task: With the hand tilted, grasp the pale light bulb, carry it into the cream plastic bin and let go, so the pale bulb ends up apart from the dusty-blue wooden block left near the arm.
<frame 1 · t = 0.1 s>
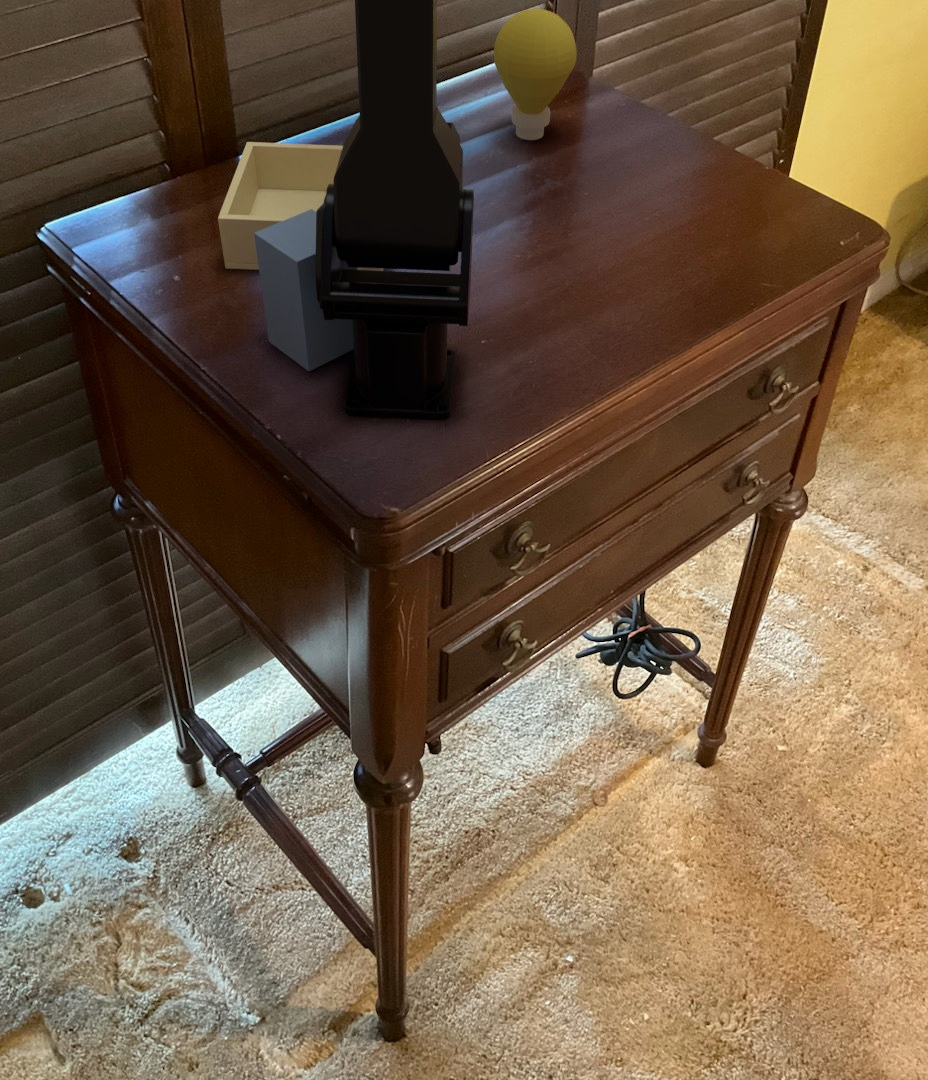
blue block: (315, 343, 73), on the table, touching arm
cream bin: (314, 230, 83), on the table
light bulb: (529, 135, 95), on the table
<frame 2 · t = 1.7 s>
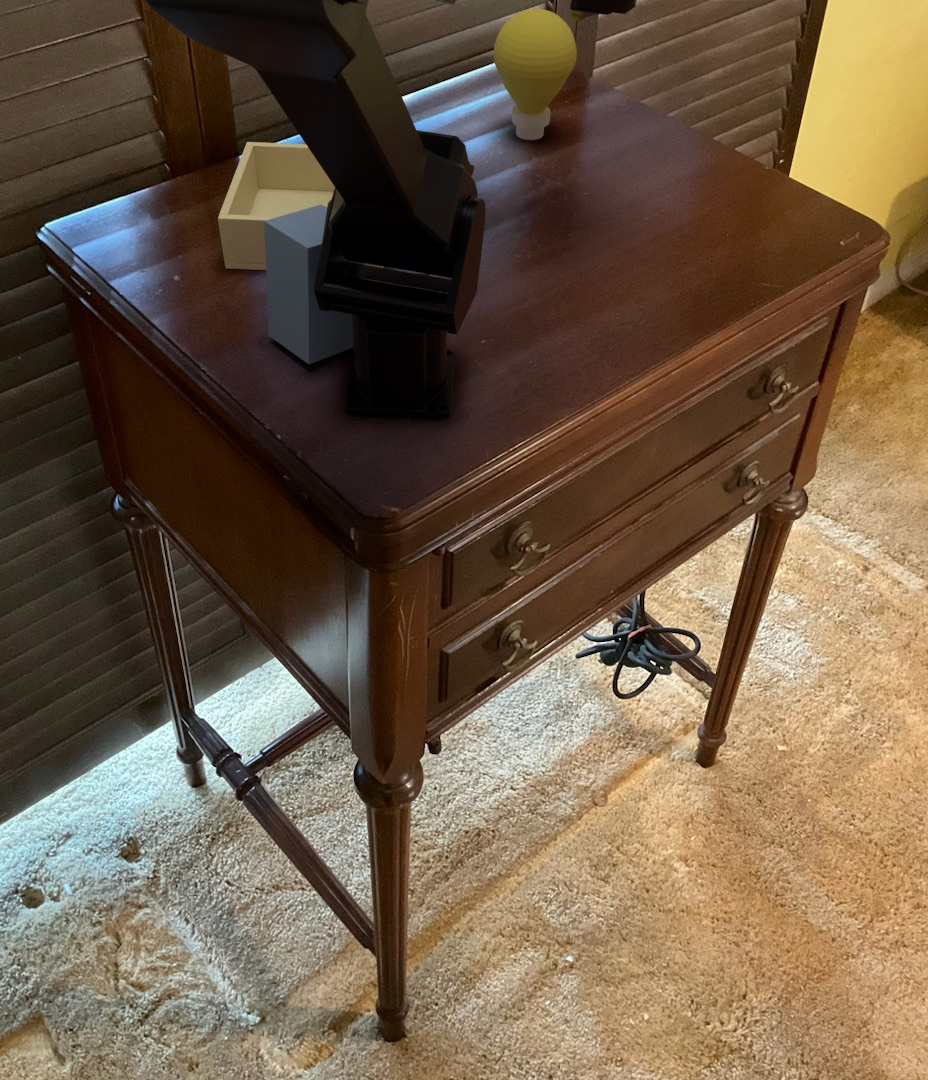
hand: (515, 5, 79), 13 cm above the table, tool tilted 45°, fingers open, 9 cm apart
blue block: (315, 339, 73), on the table, tilted 6°, touching arm
everything else where it was.
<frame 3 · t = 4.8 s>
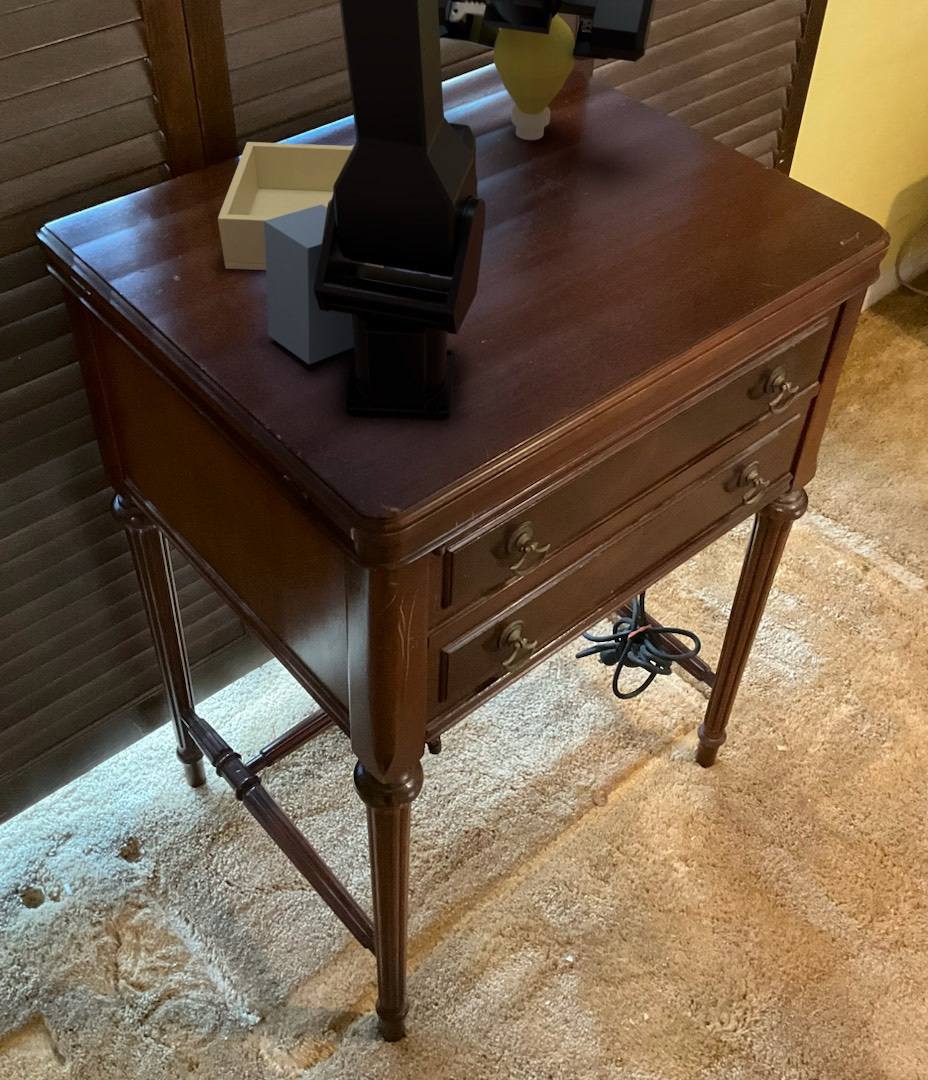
hand: (538, 48, 91), 7 cm above the table, tool tilted 45°, fingers closed on light bulb, 7 cm apart
light bulb: (529, 135, 95), on the table, touching gripper
everything else where it was.
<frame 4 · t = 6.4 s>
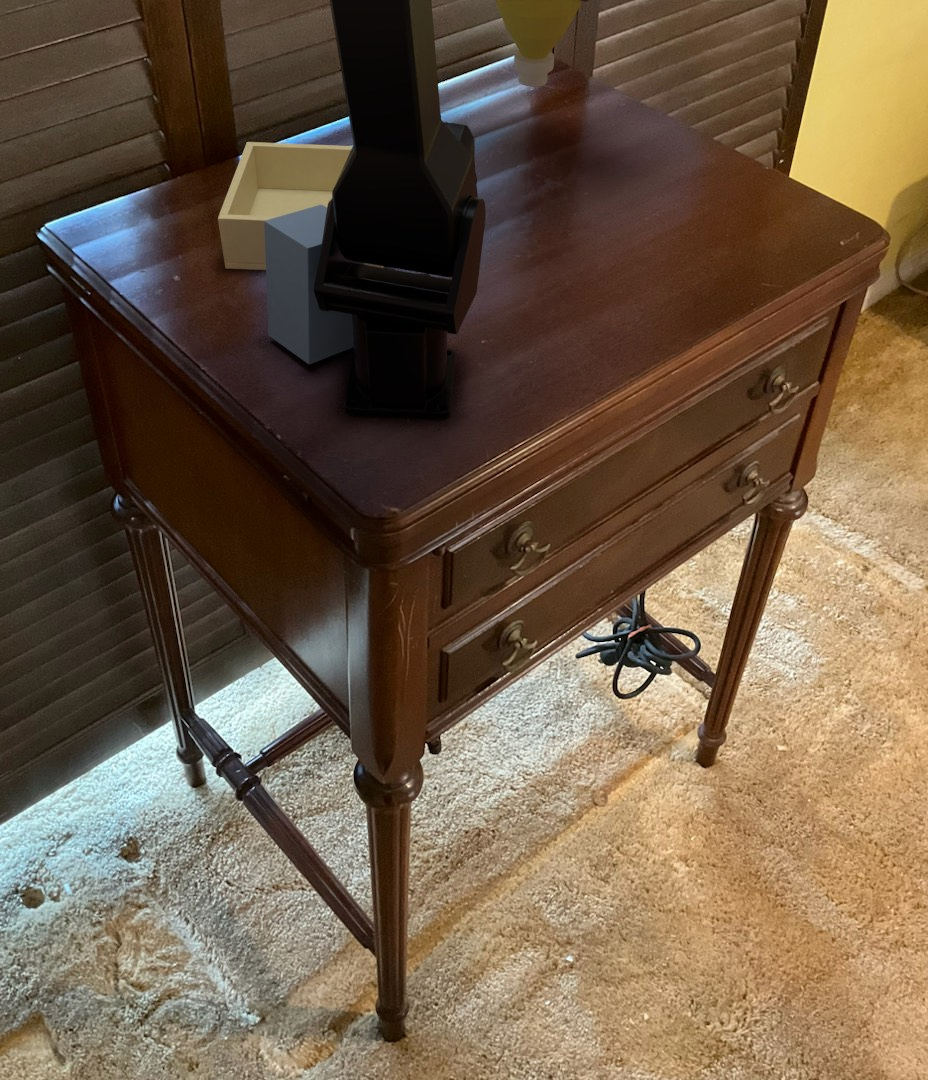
light bulb: (532, 83, 91), point 4 cm above the table, touching gripper
everything else where it was.
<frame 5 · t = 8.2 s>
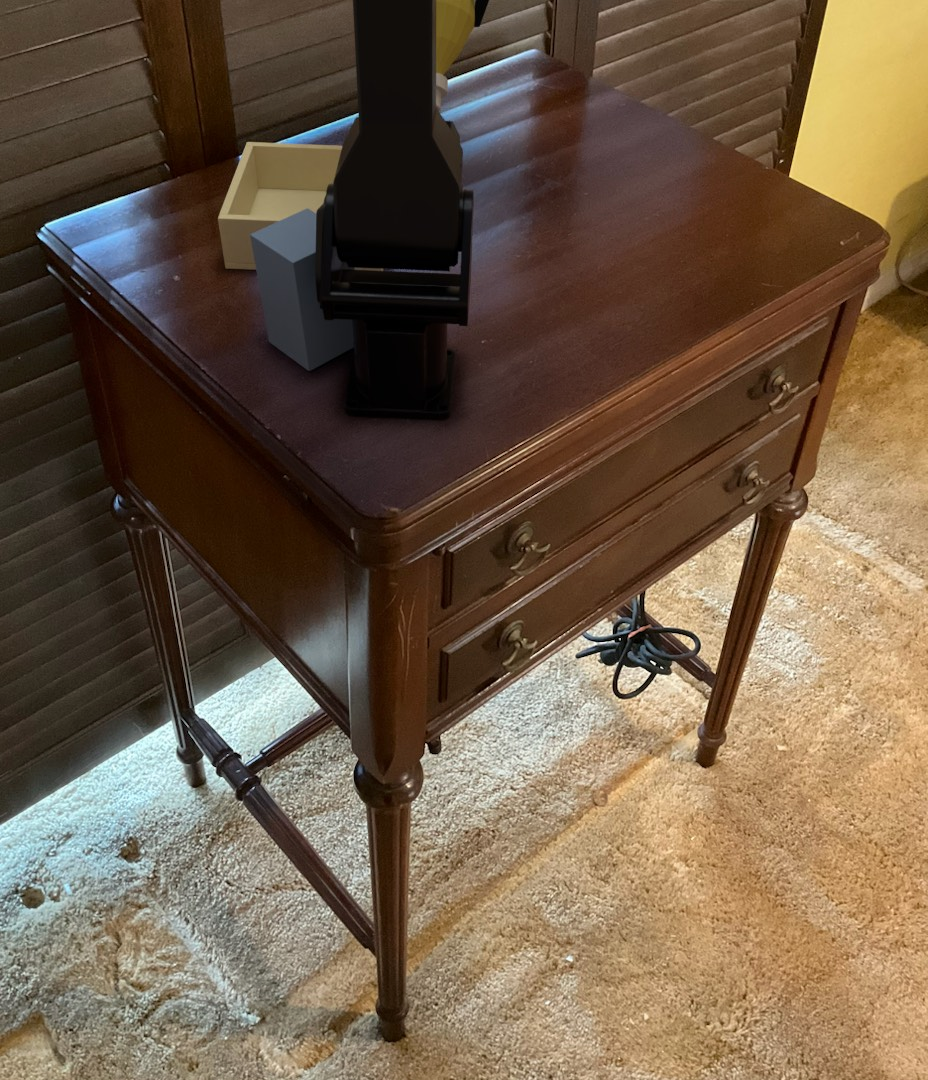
hand: (429, 23, 80), 12 cm above the table, tool pointing down, fingers closed on light bulb, 7 cm apart
light bulb: (423, 111, 79), point 8 cm above the table, touching gripper
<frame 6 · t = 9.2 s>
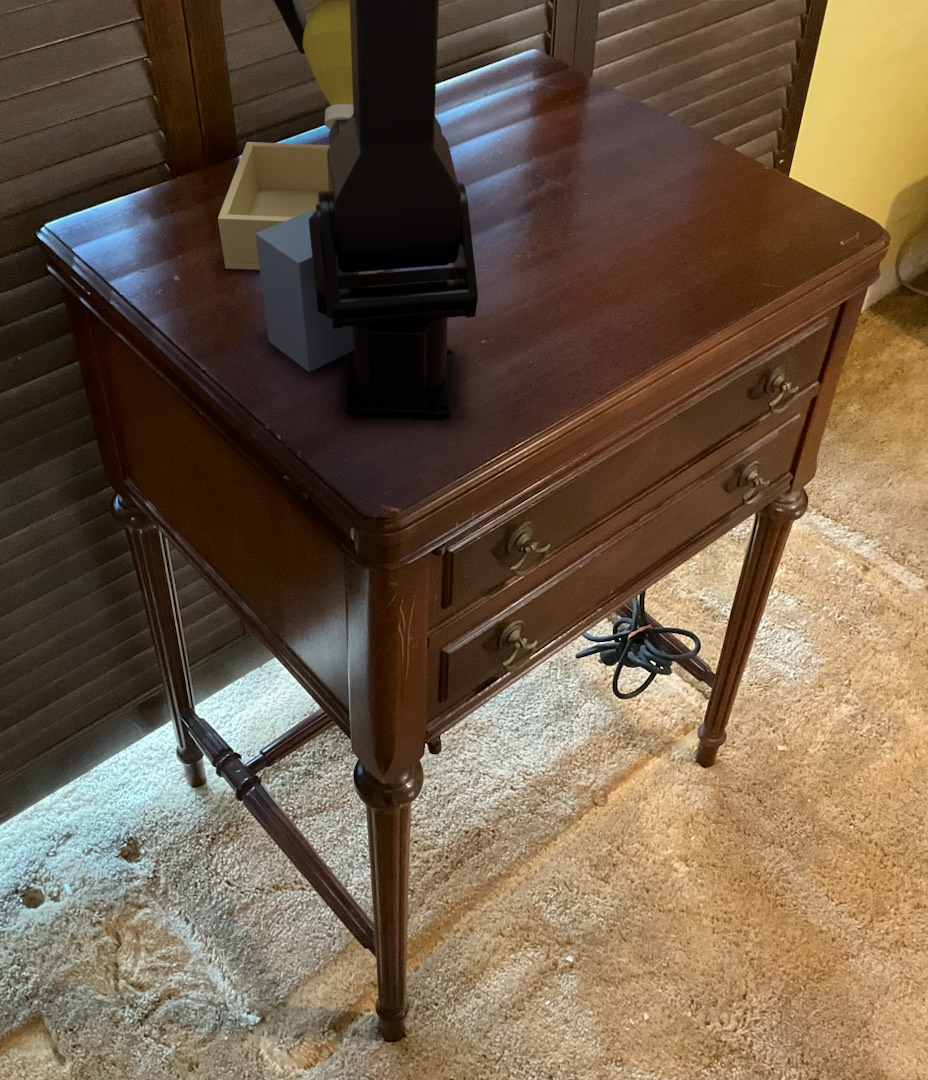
hand: (355, 53, 77), 12 cm above the table, tool pointing down, fingers closed on light bulb, 7 cm apart
blue block: (315, 343, 73), on the table
light bulb: (347, 146, 75), point 8 cm above the table, touching gripper
when the fingers open (8 cm above the table, at t = 11.3 s): light bulb drops 2 cm, resting on cream bin.
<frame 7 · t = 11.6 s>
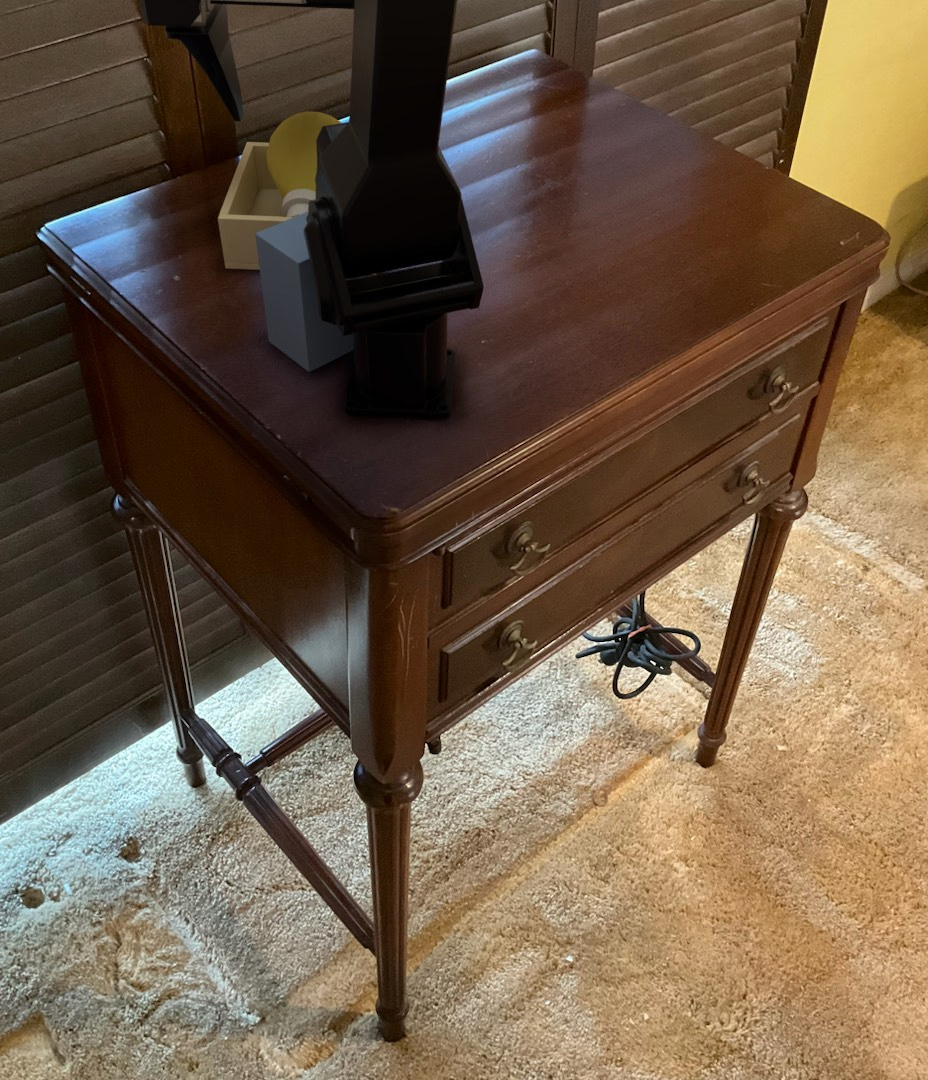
hand: (305, 121, 77), 8 cm above the table, tool pointing down, fingers open, 9 cm apart
light bulb: (301, 229, 77), point 3 cm above the table, touching cream bin
everything else where it was.
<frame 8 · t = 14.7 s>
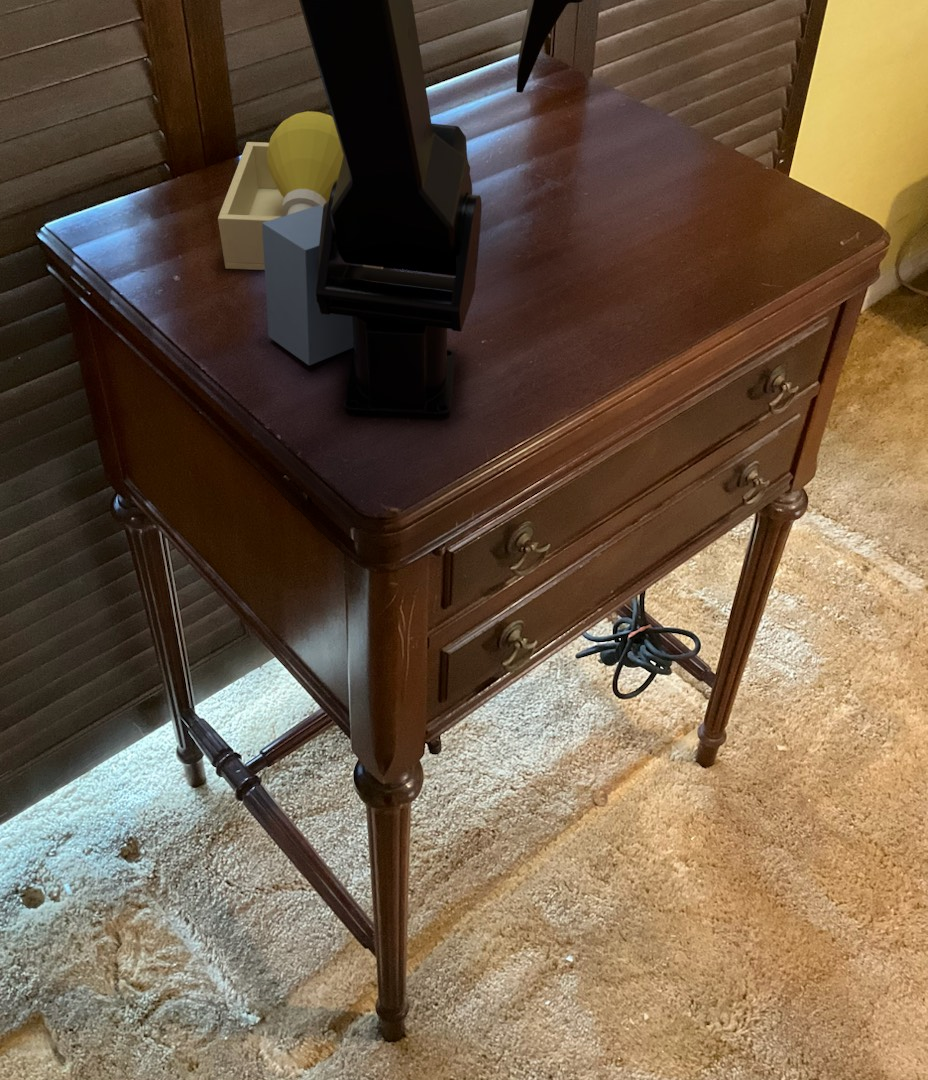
hand: (447, 87, 71), 13 cm above the table, tool pointing down, fingers open, 9 cm apart
blue block: (315, 340, 73), on the table, tilted 5°, touching arm
everything else where it was.
at the end: light bulb inside the target area in the cream bin (5.0 cm from its centre), point 3.0 cm above the cream bin's base; blue block moved 0.2 cm from its start; the gripper is holding nothing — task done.
